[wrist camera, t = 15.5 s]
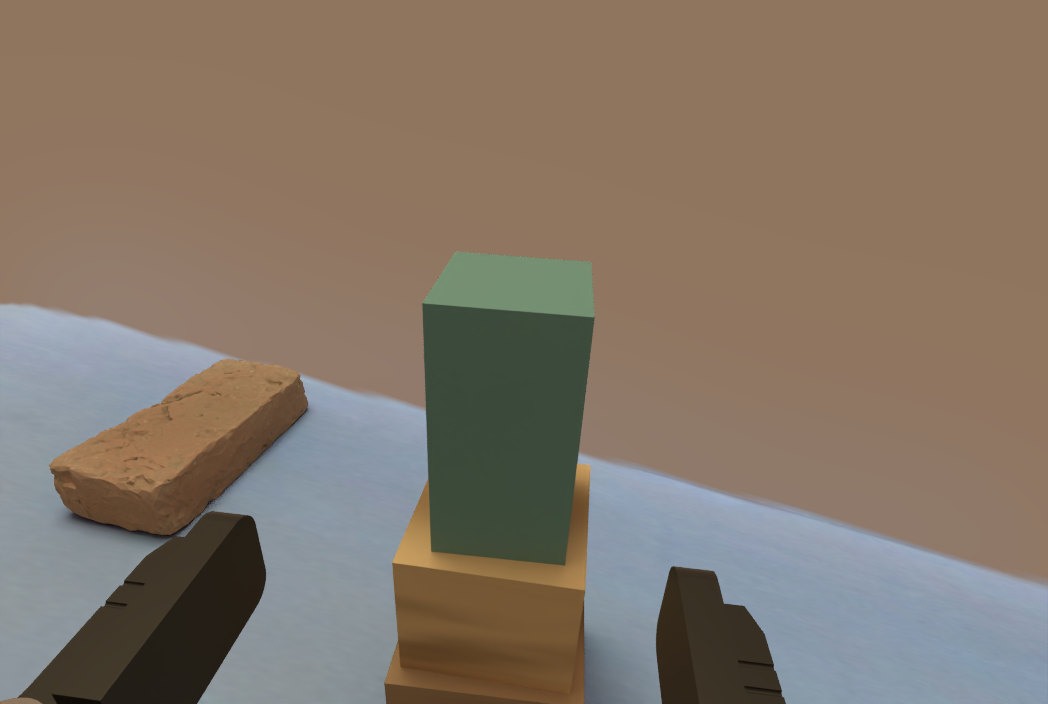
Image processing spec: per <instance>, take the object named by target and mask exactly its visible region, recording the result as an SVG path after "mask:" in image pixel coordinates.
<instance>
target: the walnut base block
mask: <svg viewBox="0 0 1048 704" xmlns="http://www.w3.org/2000/svg"><path fill="white" fill-rule="evenodd" d="M384 684H385V694H386V704H584V602H583V609H582V616H581V623H580V630H579V636H578V643H577V650H576V657H575V663H574V670H573V677H572V684H571V691H570V694H567V693H561V692H554V691H548V690H542V689H536V688H529V687H523V686H517V685H511V684H505V683H498V682H492V681H486V680H480V679H473V678H467V677H461V676H455V675H448V674H442V673H436V672H430V671H423V670H417V669H411V668H405V667H400V656H399V643H398V642H397V645H396V649H395V652H394V655H393V658H392V661H391V664H390V667H389V670H388V674H387V677H386V680H385V683H384Z"/></svg>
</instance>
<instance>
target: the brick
mask: <svg viewBox="0 0 1048 704" xmlns="http://www.w3.org/2000/svg"><path fill="white" fill-rule="evenodd" d="M304 393H305V390H304V387H303V382H302V381H301V380H300V374H299V373H297V372H295V371H293V370H291V369H287V368H285V367H282V366H276V365H274V364H269V365H263V364H261V363H257V362H253V363H250V362H248V361H242V360H239V361H236V360H232V359H223V360H221V361H219V362H217V363H215V364H213V365H212V366H211V367H210V368H208V369H206V370H204V371H203V372H201V373H200V374H196V375H195V376H193V377H192V378H190V379H189V380H188V381H187V382H186V383H184V384H182V385H181V386H179V387H178V388H177V389H176V390H174V391H173V392H172V393H170V394H169V395H168V396H167V397H165V398H164V399H163V400H162V403H161V404H156V405H154V406H152V407H150V408H147V409H143V410H141V411H139V412H137V413H135V414H133V415H132V416H131V417H129V418H127V421H126V422H125V423H122V424H120V425H118V426H116V427H114V428H110V429H109V430H105V431H103V432H101V433H99V434H98V435H97V436H96V437H93V438H90V439H88V440H87V441H85V442H84V443H82V444H80V445H78V446H76V447H74V448H72V449H70V450H69V451H67V452H65V453H64V454H62V455H60V456H59V457H57V458H56V459H54V460H53V461H52V463H51V464H50V465H49V466H50V470H51V473H52V474H54V475H55V477H54V485H55V488H56V491H57V492H58V493H59V494H60V497H61V499H62V501H63V503H64V505H65V506H66V507H67V508H69V509H70V510H71V511H73V512H74V513H76V514H78V515H80V516H82V517H85V518H89V519H92V520H94V521H97V522H101V523H111V524H114V525H118V526H121V527H123V528H125V529H128V530H130V531H134V530H142V531H147V532H149V533H153V534H160V535H171V534H173V533H175V532H176V531H178V530H179V529H181V528H182V527H183V526H185V525H187V524H188V523H189V522H190V521H192V520H193V519H194V518H195V517H196V516H197V515H199V514H200V513H201V512H202V511H203V510H204V509H205V507H206V505H207V503H208V502H209V501H211V500H215V499H217V498H218V497H219V496H220V495H221V494H222V492H223V491H224V489H225V488H227V487H228V486H229V485H230V484H231V483H232V482H233V481H235V480H236V479H237V478H238V477H239V476H240V475H241V474H242V473H243V472H244V471H245V470H246V469H247V468H248V466H249V465H251V464H252V463H253V462H254V461H255V460H256V459H257V458H258V457H259V456H260V455H261V453H262V452H264V451H265V450H266V449H267V448H268V447H269V446H270V445H271V444H272V443H273V442H274V441H275V440H276V439H277V438H278V437H279V436H280V435H282V434H283V433H284V432H285V431H286V430H287V429H288V428H289V427H290V426H291V425H292V424H293V423H294V422H295V421H296V420H297V419H298V418H299V417H300V416H301V415H302V414H303V413H304V412H305V411H306V409H307V406H308V401H307V397H306V396H305V394H304Z"/></svg>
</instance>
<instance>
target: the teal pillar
mask: <svg viewBox="0 0 1048 704" xmlns="http://www.w3.org/2000/svg"><path fill="white" fill-rule="evenodd" d="M422 305H423V333H424V362H425V391H426V420H427V449H428V478H429V507H430V535H431V552H440V553H450V554H459V555H469V556H478V557H488V558H497V559H507V560H516V561H526V562H535V563H545V564H554V565H564V566H565V562H566V554H567V545H568V537H569V528H570V520H571V511H572V503H573V495H574V486H575V478H576V469H577V461H578V452H579V444H580V436H581V427H582V419H583V410H584V402H585V393H586V384H587V377H588V368H589V360H590V351H591V343H592V333H593V325H594V318H595V317H594V301H593V284H592V267H591V262H584V261H571V260H556V259H544V258H531V257H518V256H504V255H492V254H479V253H466V252H455V254H454V255H453V257H452V258H451V260H450V261H449V263H448V264H447V266H446V267H445V269H444V271H443V272H442V274H441V275H440V277H439V278H438V280H437V281H436V283H435V285H434V286H433V288H432V289H431V291H430V293H429V294H428V295H427V297H426V299H425V300H424V302H423V303H422Z"/></svg>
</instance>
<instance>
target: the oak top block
mask: <svg viewBox="0 0 1048 704" xmlns="http://www.w3.org/2000/svg"><path fill="white" fill-rule="evenodd" d="M589 487H590V465H583V464H577V469H576V478H575V486H574V495H573V503H572V511H571V520H570V528H569V537H568V545H567V554H566V562H565V566H564V565H554V564H545V563H535V562H526V561H516V560H507V559H497V558H488V557H478V556H469V555H459V554H450V553H440V552H431V535H430V507H429V478H428V481H427V483H426V485H425V488H424V490H423V492H422V495H421V497H420V499H419V502H418V504H417V506H416V509H415V511H414V513H413V516H412V518H411V520H410V523H409V525H408V527H407V530H406V532H405V534H404V537H403V539H402V541H401V544H400V546H399V548H398V551H397V553H396V555H395V558H394V560H393V562H392V565H393V578H394V591H395V604H396V617H397V630H398V643H399V656H400V667H405V668H411V669H417V670H423V671H430V672H436V673H442V674H448V675H455V676H461V677H467V678H473V679H480V680H486V681H492V682H498V683H505V684H511V685H517V686H523V687H529V688H536V689H542V690H548V691H554V692H561V693H567V694H570V691H571V684H572V677H573V670H574V663H575V657H576V650H577V643H578V636H579V630H580V623H581V616H582V609H583V602H584V596H585V584H586V560H587V536H588V512H589Z"/></svg>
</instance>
